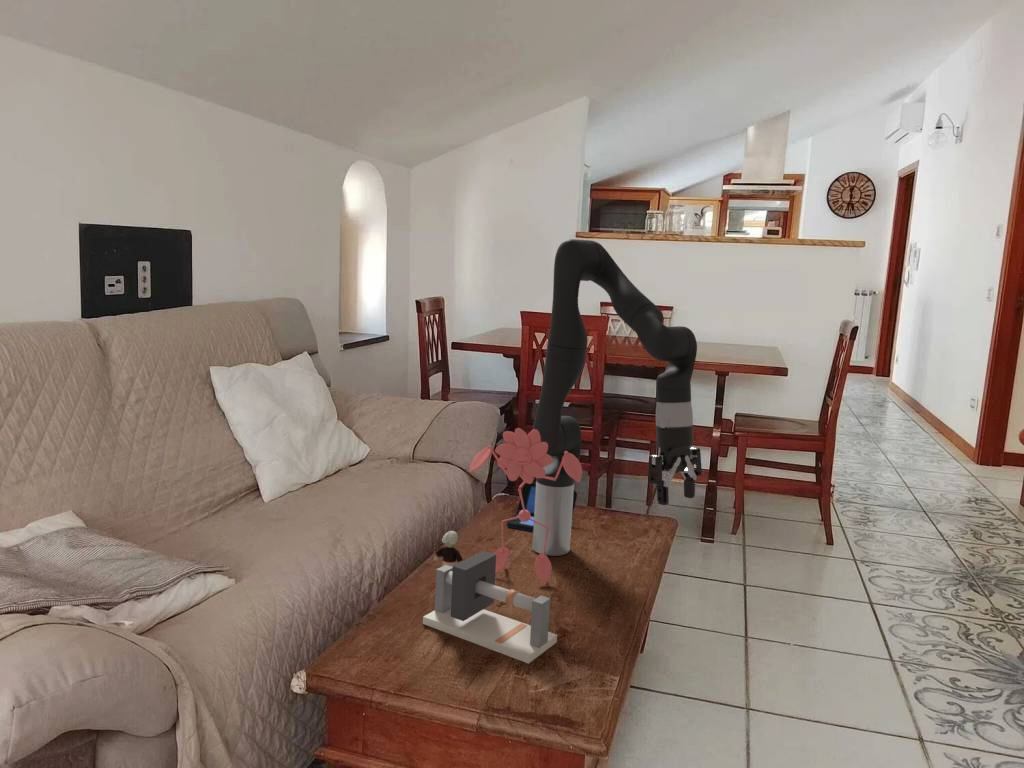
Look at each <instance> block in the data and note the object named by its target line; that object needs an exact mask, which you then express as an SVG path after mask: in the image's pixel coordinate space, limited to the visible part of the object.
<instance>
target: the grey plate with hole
mask: <svg viewBox="0 0 1024 768" xmlns="http://www.w3.org/2000/svg"><path fill="white" fill-rule="evenodd" d="M495 569H496V554H494V553H492V552H489V551H485V550H483V551H481V552H478V553H477V554H474V555H473V556H471V557H468V558H466V559H465V560H464V559H463V561H462V562H460V563H458V562H457V564H456V565H454V566H453V571H452V595H451V617H453V618H456V619H459V620H461V621H465V620H466V619H468V618H470V617H471V616H473V615H475V614H476V613H478V612H480V611H481V610H483V609H484V610H486V609H487V608H489V607H490V606H491V605H493V604H494V603H495V599H493V598H490V597H487V596H484V595H481V594H478V593H475V581H477V580H480V581H484V582H487V583H490V584H493V585H496V582H495V581H496V573H495Z"/></svg>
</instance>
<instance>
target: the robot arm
mask: <svg viewBox="0 0 1024 768" xmlns="http://www.w3.org/2000/svg"><path fill="white" fill-rule="evenodd" d="M554 257H555V258H554V264H553V265H554V266H553V290H552V291H553V292H552V304H551V305H552V307H551V314H550V326H549V332H548V338H547V344H546V351H545V360H544V361H545V363H544V371H543V377H542V382H541V388H540V389H541V390H540V395H539V400H538V403H537V407H536V412H535V417H534V420H533V424H532V430H533V429H537V430H538V431H539V433H540V436H541V442H546V443H547V444H548V450H547V453H546V454H548V455H550V456H551V457H552V458H553V462H552V463H551V464H550V465H548V466H545V467H542V468H543V469H544V470H545V474H546V475H545V476H547V477H551V478H555V476H556V474H557V471H558V469H559V466H560V464H561V462H562V458H563V456H564V452H565V451H568V453H571V454H573V455H574V456H575V457H576V458H577V459H578V460H579V461H580V460H581V449H582V442H583V441H582V439H583V437H582V430H581V425H580V424H579V422H578V420H577V419H576V418H575V417H573V416H570V415H563V413H562V412H563V408H564V406H565V402H566V400H567V398H568V396H569V394H570V391H571V390H572V389H573V388H574V386H575V384H576V383H577V381H578V379H579V377H580V376H581V374H582V372H583V369H584V367H585V363H586V355H587V348H588V341H589V339H588V332H587V329H586V326H585V324H584V321H583V318H582V315H581V311H580V308H579V293H580V287H581V286H580V285H581V281H582V282H589V281H590V282H593V284H594V283H595V284H596V285H597V286H599V287H600V288H602V289H603V290H604V291H605V292H606V294H607V295H608V296H609V298H610V302H611V305H612V308H613V310H614V311H615V313H616V315H617V316H618V317H619V318H620V320H622V321H623V323H625V324H626V325H627V326H628V327H629V328H630V329H631V330H632V331H633V332H635V334H636V336H637V338H638V340H639V341H640V343H641V344H642V346H643V348H644V349H645V351H646V352H647V353H648V355H649V356H650V357H652V358H653V359H656V361H659V362H667V366H666V369H665V371H664V372H662V373H660V374H659V375H658V376H657V377H656V380H655V381H656V382H655V389H656V390H655V393H656V394H655V395H656V397H655V398H656V407H655V433H656V437H655V438H656V446H657V447H659V448H660V451H659V454H650V455H649V456H648V484H650V485H654V486H656V499H657V500H656V501H657V503H658V504H659V505H660V506H661V505H662V506H667V505H669V504H670V503H669V501H670V500H669V497H670V496H669V486H668V485H669V483H670V480H671V479H673V478H674V476H675V474H677V473H681V475H682V477H683V478H684V479H683V495H684V498H687V499H694V498H695V497H696V495H695V494H696V480H697V477H700V476H702V473H703V471H702V469H703V468H702V455H701V449H700V448H699V447H692V446H694V412H693V406H692V390H691V389H692V385H691V380H692V376H693V373H694V368H695V363H696V359H697V354H698V344H697V343H698V342H697V339H696V335H695V334H694V332H693V331H692V330H691V329H690V328H689V327H686V326H683V325H682V326H680V325H679V326H667V325H665V324H664V314H663V312H662V310H661V308H659V307H658V306H657V305H656V304H655V303H654V302H653V301H652V300H650V299H649V298H648V297H647V296H646V295H645V294H644V293H643V292H642V291H640V289H638V287H636V286H635V284H633V283H632V281H631V280H630V279H629V278H628V277H627V276H626V274H625V273H624V272H623V271H622V269H621V268H620V266H619V265H618V264H617V263H616V262H615V260H614V258H613V257H612V256H611V254H609V252H608V250H607V249H606V248H605V247H604V246H603V245H602V244H601V243H599V242H597V241H595V240H590V239H589V240H588V239H574V238H571V239H570V238H568V239H565V240H563V241H562V242H561V243H560V244H559V246H558V248H557V250H556V253H555V256H554ZM695 468H696V469H695ZM655 474H656V475H655ZM655 476H656V477H655ZM535 480H536V481H535V484H536V495H535V512H534V520H535V521H537V522H539V523H541V524H543V525H545V526H547V527H549V532H548V537H547V543H546V548H545V553H544V554H545V555H546V556H553V557H554V556H555V557H556V556H563V555H567V554H569V552H570V550H571V538H572V537H571V536H572V535H571V533H572V523H573V521H572V520H573V517H572V508H573V492H574V491H575V489H574V488H575V480H574V479H573V478H571V477H570V476H569V475H568V474H567V473H566V471H565V470H564V467H563V465H562V468H561V470H560V473H559V475H558V477H557V479H556V481H554V480H549V479H544V478H536V479H535ZM547 529H548V528H546V527H544V526H541V525H539V524H537V523H535V522H534V528H533V531H532V544H531V545H532V546H531V547H532V550H533V551H534V552H535V553H537V554H541V555H542V553H543V549H544V544H545V539H546V534H547Z"/></svg>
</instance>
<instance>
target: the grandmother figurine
mask: <svg viewBox="0 0 1024 768" xmlns="http://www.w3.org/2000/svg"><path fill="white" fill-rule="evenodd" d="M458 538H459V537H458V533H457V532H456V531H454V530H449V531H447V532H446V533H445V534H444V535H443V537H442V539H441V541H442V543H443V544H445V546H442V547H440V548H439V549H437V550H436V551H435V554H434V557H433V561H435V562H437V561H439V558H442V564H441V567H442V566H444V565H448V566H451V567H453V566H454V565H456V564H458V563H460V562H462V561H464V559H463V557H462V555H461V553H460V551H459V550H458V549H457V548H455V547H456V546H457V543H458Z"/></svg>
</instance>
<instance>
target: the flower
mask: <svg viewBox="0 0 1024 768" xmlns="http://www.w3.org/2000/svg"><path fill="white" fill-rule="evenodd" d="M502 438H503V441H504V442H505V443H500V444H499V445H497V446H496V448H495V449H493V446H492V445H488V446H487V447H484V448H483V449H482V450H480V451H478V453H477V454H476V455H475V456H474V458H473V460H472V461H471V464H470V465H469V466H470V467H469V473H470V474H471V473H473V472H475V471H476V470H478V469H480V468H481V467H482V466H483V465H484V464H486V462H487V461H488V459H489V458H490V456H491V454H492V455H493V457H494V459H495V460H496V461H497V466H498V467H499V468H501V469H502V470H503V472H504V474H505V476H506V477H507V478H508V480H509V481H511V482H514V481H517V480H518V478H519V477H520V478H521V479H522V481H523V482H522V483H521V484H520V485H519V486H518V489H517V491H518V495H519V500H520V499H521V503H522V507H523V510H521V511H520V512H519V516H518V517H514V518H512V517H511V518H507V519H503V520H501V525H500V526H501V527H500V528H501V546H500V547H499V548H497V549H496V550H495V551H494V552H493V554H496V569H495V574H497V573H498V572H500V571H501V570H503V568H504V569H505V570H508V566H507V564H508V563H507V562H508V559H509V554H510V551H509V549H508V547H506V546H504V522H507V521H508V520H512V519H517V518H519V519H520V520H521V521H522V522H527V521H528V520H531V521H533V522H535V523H537V524H539V525H541V526H544V527H546V528H548V529H547V534H546V539H545V544H544V549H543V553H542V554H540V553H538V555H537V556H536V558H535V562H534V571H535V574H536V576H538V578H539V579H540V581H541V582H542V583H543V584H544V585H546V584H547V583H548V581H549V579H550V577H551V574H552V563H551V561H550V559H549V557H548V555H545V554H544V553H545V548H546V543H547V537H548V532H549V527H547V526H545V525H543V524H541V523H539V522H537V521H535V520H533V519H531V518H530V517H531V515H530V512H529V511H528V510H525V508H524V503H523V498H522V489H523V486H524V484H525V483H528V484H531V483H534V482H533V481H534V480H535V478H544V479H549V480H554V481H556V479H557V477H558V475H559V473H560V470H561V468H562V465H563V467H564V470H565V471H566V473H567V474H568V475H569V476H570V477H571V478H573V479H574V481H575V482H577V483H581V482H582V476H583V467H582V464H581V462H580V460H578V459H577V458H576V457H575V456H574V455H573V454H571V453H568V451H565V452H564V456H563V458H562V462H561V464H560V466H559V469H558V471H557V474H556V476H555V478H551V477H547V476H545V475H546V474H545V470H544V469H543V468H542V467H545V466H548V465H550V464H551V463H552V462H553V458H552V457H551V456H550V455H548V454H546V453H547V450H548V444H547V443H546V442H541V436H540V433H539V431H538V430H537V429H533V428H532V430H531V431H529V432H528V433H526V431H524V429H522V428H520V427H517V428H515V429H514V431H510V430H509V431H508V430H506V431H504V432H503V433H502ZM498 456H499V457H498ZM554 596H555V594H553V595H548V596H546V597H548V598H551V597H554Z"/></svg>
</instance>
